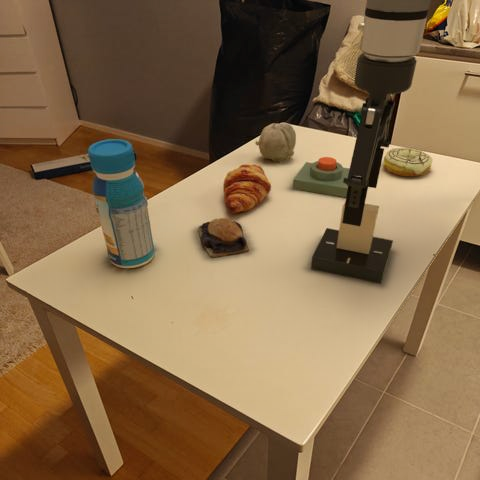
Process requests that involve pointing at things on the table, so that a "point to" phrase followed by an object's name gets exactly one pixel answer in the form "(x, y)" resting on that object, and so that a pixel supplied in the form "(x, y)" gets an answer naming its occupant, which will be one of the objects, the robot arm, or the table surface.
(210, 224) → the chocolate dessert
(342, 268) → the dial panel
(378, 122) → the robot arm
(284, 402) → the table surface
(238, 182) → the croissant
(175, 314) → the table surface
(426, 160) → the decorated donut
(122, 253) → the beverage bottle
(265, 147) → the grey rounded lump
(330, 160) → the button
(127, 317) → the table surface
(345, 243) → the knob
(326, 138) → the table surface
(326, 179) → the button housing
